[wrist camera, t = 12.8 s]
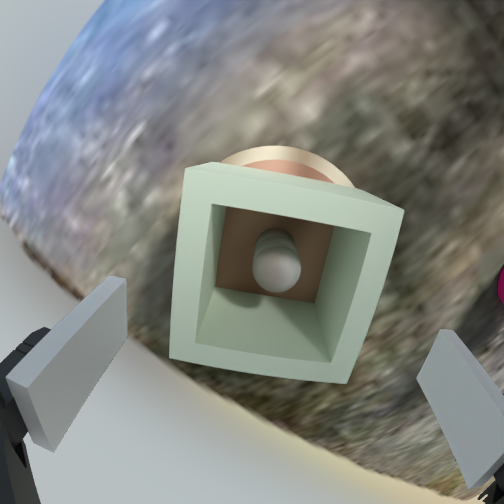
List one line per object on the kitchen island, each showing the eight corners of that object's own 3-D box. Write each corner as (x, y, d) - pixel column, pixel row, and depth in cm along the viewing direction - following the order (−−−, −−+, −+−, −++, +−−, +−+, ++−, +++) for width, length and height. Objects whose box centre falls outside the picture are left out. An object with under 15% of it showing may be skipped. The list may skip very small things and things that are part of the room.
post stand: (383, 168, 24) (426, 178, 16) (339, 333, 28) (357, 386, 21) (195, 132, 23) (165, 126, 16) (175, 307, 28) (149, 355, 21)
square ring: (361, 189, 23) (404, 210, 15) (327, 321, 26) (346, 383, 18) (212, 161, 22) (185, 168, 15) (195, 299, 26) (169, 357, 18)
